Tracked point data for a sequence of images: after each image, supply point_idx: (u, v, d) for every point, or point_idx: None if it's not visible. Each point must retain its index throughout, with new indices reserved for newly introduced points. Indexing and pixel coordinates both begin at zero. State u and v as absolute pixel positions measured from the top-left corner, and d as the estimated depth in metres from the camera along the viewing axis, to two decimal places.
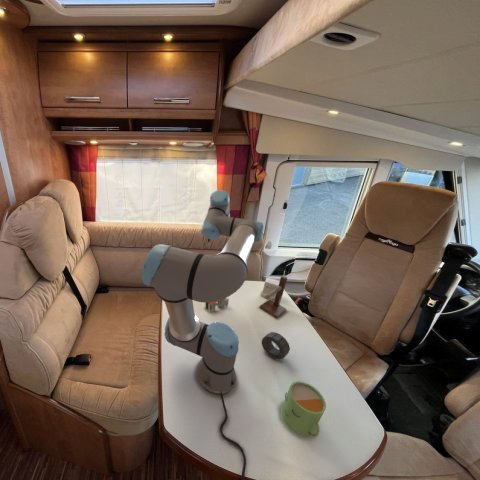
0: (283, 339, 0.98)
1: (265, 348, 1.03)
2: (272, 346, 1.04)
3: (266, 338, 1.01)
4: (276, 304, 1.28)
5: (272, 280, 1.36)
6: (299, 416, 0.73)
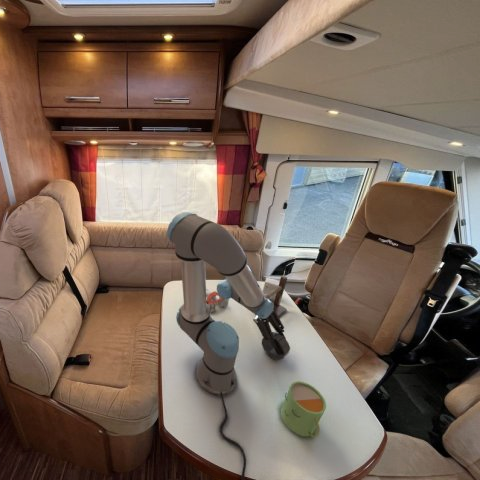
0: (283, 339, 0.98)
1: (265, 348, 1.03)
2: (272, 346, 1.04)
3: None
4: (276, 304, 1.28)
5: (272, 280, 1.36)
6: (299, 416, 0.73)
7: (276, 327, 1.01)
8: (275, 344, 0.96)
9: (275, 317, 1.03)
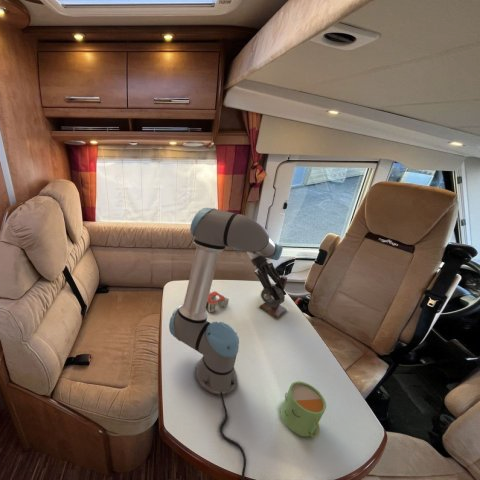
0: (279, 289, 1.18)
1: (264, 299, 1.22)
2: (270, 297, 1.24)
3: (265, 290, 1.21)
4: None
5: (272, 280, 1.36)
6: (299, 416, 0.73)
7: (274, 278, 1.21)
8: (273, 291, 1.16)
9: (273, 271, 1.23)
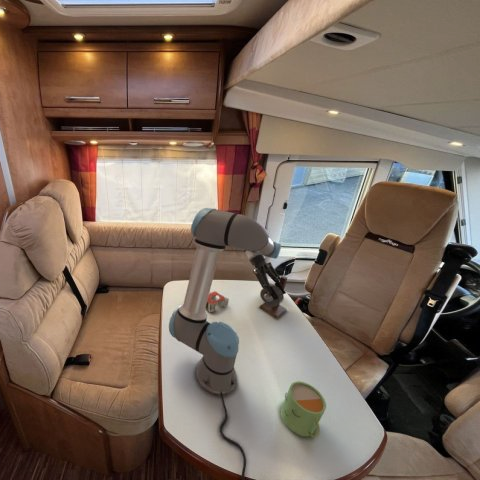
0: (279, 290, 1.18)
1: (263, 298, 1.23)
2: None
3: (265, 289, 1.21)
4: None
5: (272, 280, 1.36)
6: (299, 416, 0.73)
7: (273, 277, 1.21)
8: (271, 290, 1.16)
9: (272, 270, 1.23)
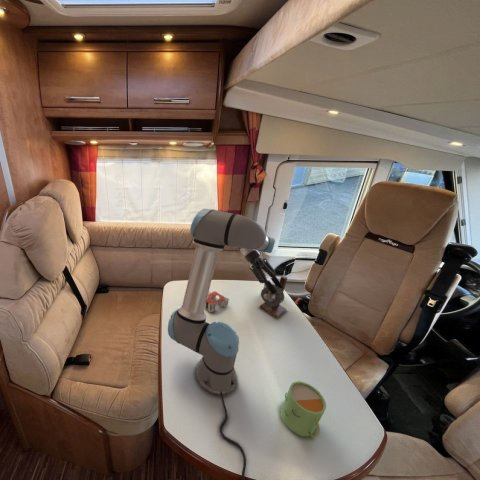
0: (279, 289, 1.18)
1: (264, 298, 1.23)
2: None
3: (265, 289, 1.21)
4: None
5: None
6: (299, 416, 0.73)
7: (269, 272, 1.23)
8: (269, 284, 1.17)
9: (268, 265, 1.25)
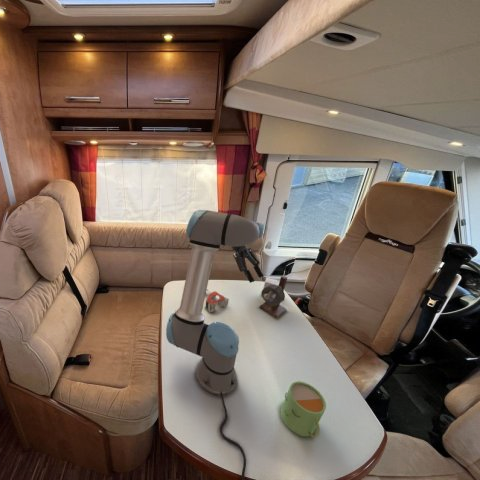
0: (279, 288, 1.19)
1: None
2: (271, 296, 1.24)
3: (265, 289, 1.22)
4: None
5: (272, 280, 1.36)
6: (299, 416, 0.73)
7: (253, 262, 1.29)
8: (248, 274, 1.23)
9: (252, 255, 1.31)
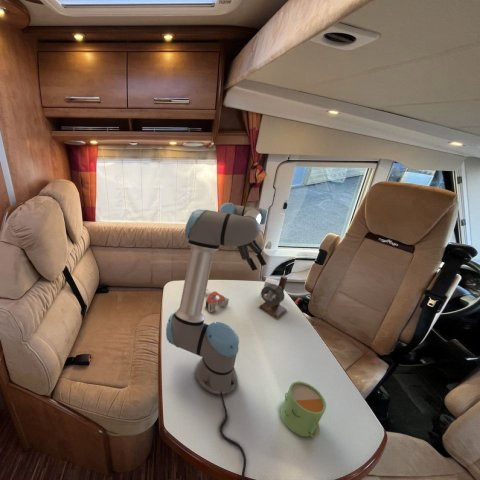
0: (279, 288, 1.19)
1: None
2: None
3: (265, 288, 1.22)
4: None
5: (272, 280, 1.36)
6: (299, 416, 0.73)
7: (255, 250, 1.26)
8: (250, 261, 1.20)
9: (254, 243, 1.28)
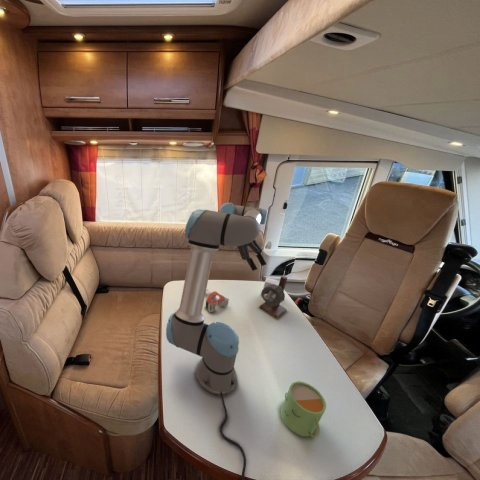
0: (279, 288, 1.19)
1: None
2: (271, 296, 1.25)
3: (265, 289, 1.22)
4: None
5: (272, 280, 1.36)
6: (299, 416, 0.73)
7: (255, 250, 1.26)
8: (250, 261, 1.20)
9: (254, 243, 1.28)
